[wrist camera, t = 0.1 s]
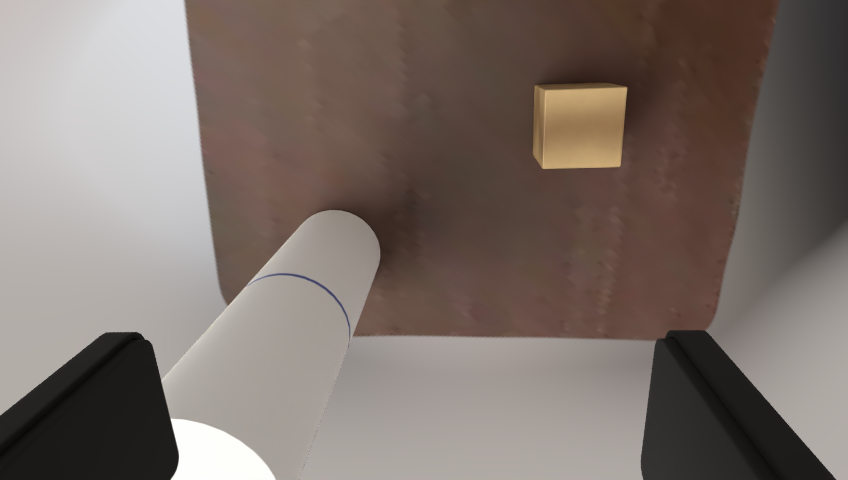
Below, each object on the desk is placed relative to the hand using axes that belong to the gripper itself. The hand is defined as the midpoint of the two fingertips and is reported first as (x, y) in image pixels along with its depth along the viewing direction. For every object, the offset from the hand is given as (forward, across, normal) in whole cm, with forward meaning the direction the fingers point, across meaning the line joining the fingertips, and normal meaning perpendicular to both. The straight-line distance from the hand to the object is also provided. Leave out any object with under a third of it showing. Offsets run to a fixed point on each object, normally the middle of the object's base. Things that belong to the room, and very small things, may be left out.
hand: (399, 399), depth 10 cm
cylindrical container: (+31, +9, +9) cm, 34 cm away
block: (+31, -9, -1) cm, 32 cm away
